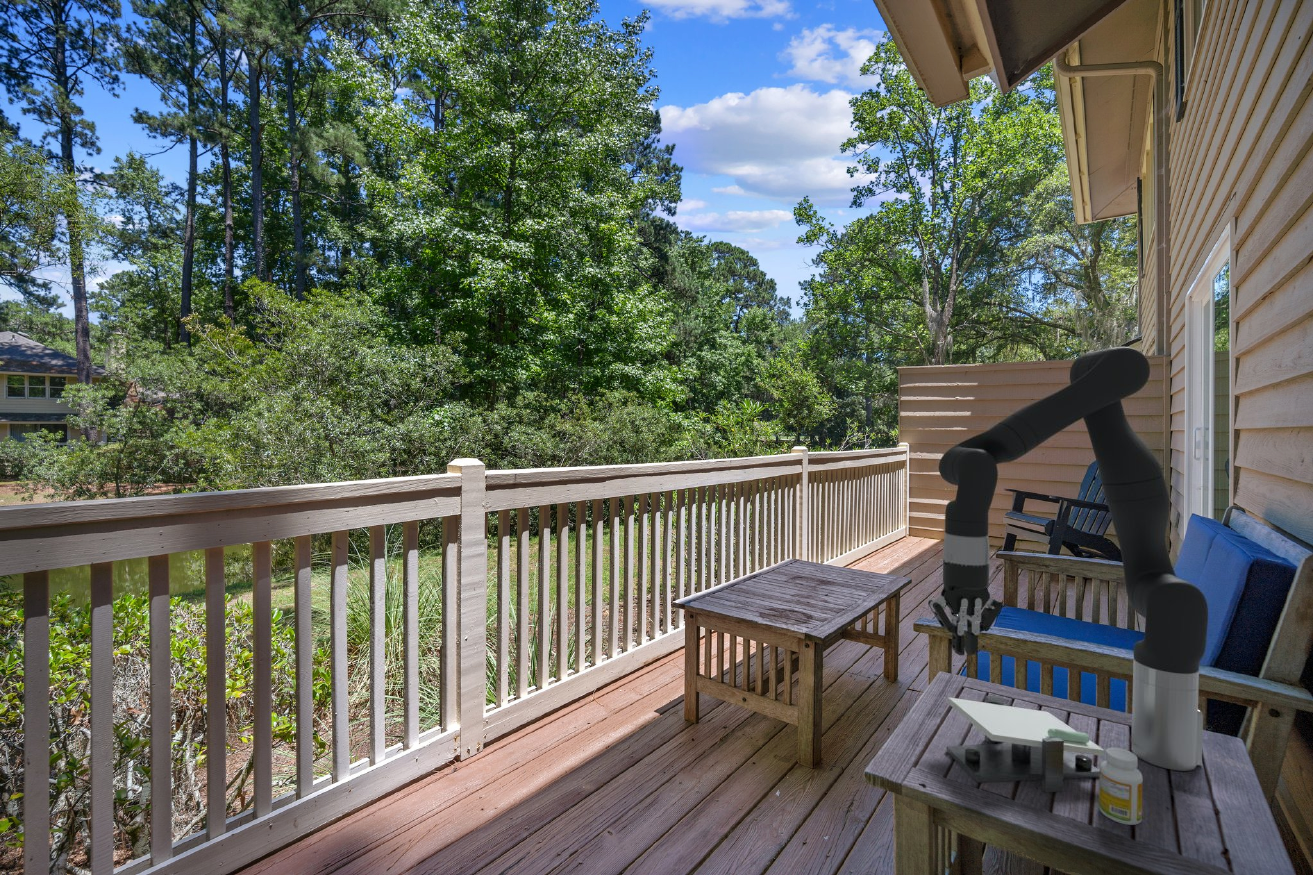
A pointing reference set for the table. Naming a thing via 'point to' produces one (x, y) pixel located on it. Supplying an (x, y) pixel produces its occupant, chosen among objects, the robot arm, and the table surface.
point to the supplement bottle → (1121, 787)
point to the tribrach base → (1023, 761)
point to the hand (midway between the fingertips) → (964, 653)
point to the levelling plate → (1022, 726)
